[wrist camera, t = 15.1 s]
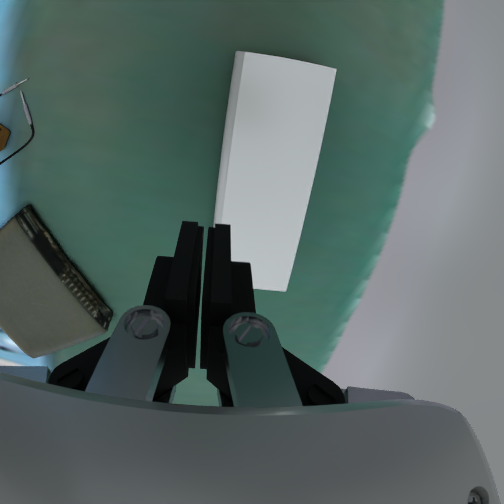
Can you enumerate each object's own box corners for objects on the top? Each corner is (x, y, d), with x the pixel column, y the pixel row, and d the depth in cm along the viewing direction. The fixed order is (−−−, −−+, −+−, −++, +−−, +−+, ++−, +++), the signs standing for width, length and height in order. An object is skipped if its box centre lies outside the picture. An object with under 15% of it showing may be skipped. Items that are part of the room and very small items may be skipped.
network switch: (127, 305, 44) (119, 329, 40) (51, 350, 50) (42, 370, 46) (22, 186, 33) (1, 201, 29) (-34, 264, 39) (-48, 281, 34)
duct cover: (235, 51, 24) (235, 50, 23) (333, 69, 25) (336, 69, 24) (208, 278, 36) (207, 283, 35) (284, 286, 37) (285, 291, 36)
